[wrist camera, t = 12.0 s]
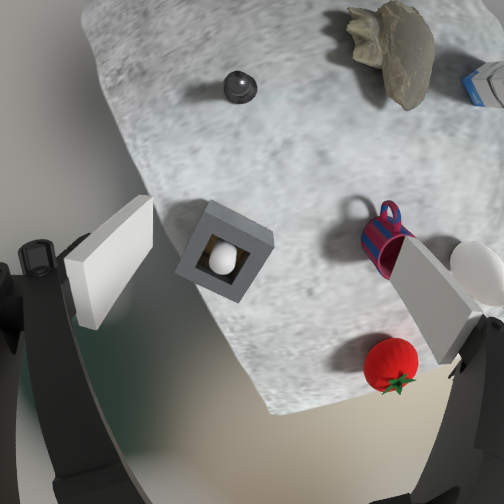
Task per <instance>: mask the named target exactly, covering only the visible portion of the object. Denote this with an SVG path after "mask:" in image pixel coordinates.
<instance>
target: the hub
mask: <svg viewBox="0 0 504 504" xmlns="http://www.w3.org/2000/svg"><path fill="white" fill-rule="evenodd" d="M204 251H205V252H207V253H209V254H211V256H210V259H209V265H210V268H211V269H212V270H213V271H214V272H215V273H217V274H222V275H223V274H228V273H230V272H231V271H232V270H233V269H234V267H235V265H236V263H237V261H238V260H239V258H240V256H241V255H242V253H243V251H244V250H243V249H241V248H239V247H237V246H235V245H233V244H231V243H229V242H227V241H225V240H224V239H222V238H220V237H218V236H216V235H214V234H212V235H211V237H210V239H209V241H208V243H207V245H206V247H205V249H204Z"/></svg>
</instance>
